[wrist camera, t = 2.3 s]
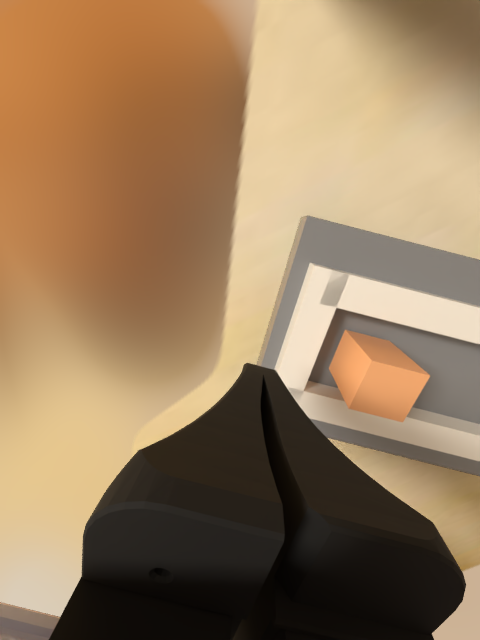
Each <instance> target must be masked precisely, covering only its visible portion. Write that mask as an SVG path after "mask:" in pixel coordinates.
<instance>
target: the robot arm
mask: <svg viewBox="0 0 480 640" xmlns="http://www.w3.org/2000/svg"><path fill="white" fill-rule="evenodd" d="M82 556H83V557H82V577H81V579H80V581H79V583H78V585H77V587H76V588H75V590H74V592H73V594H72V596H71V598H70V600H69V602H68V604H67V606H66V607H65V610H64V611H63V613H62V615H61V617H58V616H54V615H50V614H46V613H41V612H38V611H34V610H30V609H25V608H22V607H17V606H13V605H10V604H5V603H1V602H0V640H434V638H433V636H432V632H434V631H435V630H436V629H437V628H438V627H439V626H440V625H441V624H442V623H443V622H444V621H445V620H446V619H447V618H448V617H449V616H450V615H451V614H452V613H453V612H454V611H455V610H456V609H457V607H458V606H459V605H460V603H461V602H462V600H463V596H464V592H465V587H466V583H465V579H464V576H463V573H462V571H461V569H460V568H459V566H458V564H457V562H456V561H455V559H454V557H453V556H452V554H451V552H450V551H449V549H448V547H447V545H446V544H445V542H444V540H443V539H442V537H441V535H440V534H439V532H438V530H437V529H436V527H435V525H434V524H433V522H431V521H430V520H428V519H427V518H426V517H424V516H423V515H421V514H420V513H418V512H417V511H416V510H414V509H413V508H411V507H410V506H409V505H407V504H406V503H404V502H403V501H401V500H400V499H399V498H397V497H396V496H394V495H393V494H391V493H390V492H389V491H387V490H386V489H385V488H384V487H382V486H381V485H380V484H379V483H377V482H376V481H375V480H373V479H372V478H371V477H370V476H368V475H367V474H366V473H365V472H363V471H362V470H361V469H360V468H359V467H358V466H356V465H355V464H354V463H353V462H352V461H351V460H350V459H348V458H347V457H346V456H345V455H344V454H343V453H342V452H341V451H340V450H339V449H338V448H336V447H335V446H334V445H333V444H332V443H331V442H330V441H329V440H328V439H327V438H326V436H325V435H324V434H323V433H322V432H321V431H320V430H319V429H318V428H317V427H316V426H315V425H314V423H313V422H312V421H311V420H310V419H309V417H308V416H307V415H306V414H305V412H304V411H303V410H302V409H301V407H300V406H299V405H298V403H297V402H296V401H295V399H294V398H293V396H292V395H291V393H290V392H289V390H288V389H287V387H286V386H285V384H284V383H283V381H282V379H281V378H280V376H279V375H278V373H277V372H276V370H273V369H269V368H265V367H261V366H258V365H254V364H250V363H246V364H244V367H243V370H242V373H241V374H240V376H239V378H238V379H237V380H236V382H235V383H234V385H233V386H232V387H231V388H230V389H229V391H228V392H227V393H226V394H225V395H224V396H223V397H222V398H221V399H220V400H219V401H218V402H217V403H216V404H215V405H214V406H213V407H212V408H211V409H209V410H208V411H207V412H206V413H204V414H203V415H202V416H200V417H199V418H198V419H196V420H195V421H193V422H192V423H190V424H189V425H187V426H185V427H184V428H182V429H181V430H179V431H177V432H176V433H174V434H172V435H170V436H168V437H167V438H165V439H162V440H160V441H158V442H156V443H154V444H152V445H150V446H148V447H145V448H143V449H141V450H139V451H138V452H137V453H136V454H135V455H134V456H133V457H132V459H131V460H130V461H129V462H128V463H127V464H126V465H125V467H124V468H123V469H122V470H121V472H120V473H119V474H118V475H117V477H116V478H115V479H114V481H113V482H112V483H111V485H110V486H109V488H108V489H107V490H106V492H105V493H104V495H103V497H102V498H101V500H100V502H99V503H98V505H97V507H96V508H95V510H94V512H93V513H92V515H91V517H90V519H89V520H88V522H87V524H86V526H85V530H84V534H83V554H82Z"/></svg>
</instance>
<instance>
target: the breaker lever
mask: <svg viewBox="0 0 480 640" xmlns="http://www.w3.org/2000/svg"><path fill="white" fill-rule="evenodd" d="M329 370H330V372H331V374H332V376H333V378H334V380H335V382H336V384H337V386H338V388H339V390H340V392H341V394H342V396H343V398H344V400H345V402H346V404H347V406H348V408H349V409H352V410H356V411H360V412H364V413H368V414H372V415H375V416H379V417H383V418H387V419H391V420H395V421H399V422H403V421H404V420H405V418H406V416H407V415H408V413H409V411H410V410H411V408H412V406H413V404H414V403H415V401H416V399H417V398H418V396H419V394H420V393H421V391H422V389H423V388H424V386H425V384H426V383H427V381H428V379H429V377H430V375H429V374H428V373H427V372H426V371H424V370H423V369H422V368H421V367H420V366H419V365H417V364H416V363H415V362H414V361H413V360H412V359H410V358H409V357H408V356H407V355H406V354H404V353H403V352H402V351H401V350H400V349H399V348H397V347H396V346H395V345H394V344H393V343H391V342H390V341H388V340H384V339H380V338H376V337H373V336H369V335H365V334H361V333H357V332H353V331H349V330H345V331H344V333H343V336H342V338H341V340H340V343H339V345H338V347H337V350H336V352H335V355H334V357H333V359H332V362H331V364H330V366H329Z"/></svg>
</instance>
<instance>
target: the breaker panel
mask: <svg viewBox="0 0 480 640" xmlns="http://www.w3.org/2000/svg"><path fill="white" fill-rule="evenodd" d="M345 330H349V331H353V332H357V333H361V334H365V335H369V336H373V337H376V338H380V339H384V340H388V341H390V342H391V343H393V344H394V345H395V346H396V347H397V348H399V349H400V350H401V351H402V352H403V353H404V354H406V355H407V356H408V357H409V358H410V359H412V360H413V361H414V362H415V363H416V364H417V365H419V366H420V367H421V368H422V369H423V370H424V371H426V372H427V373H428V374H429V375H430V377H429V379H428V381H427V383H426V384H425V386H424V388H423V389H422V391H421V393H420V394H419V396H418V398H417V399H416V401H415V403H414V404H413V406H412V408H411V410H410V411H409V413H408V415H407V416H406V418H405V420H404V421H403V422H399V421H395V420H391V419H387V418H383V417H379V416H375V415H372V414H368V413H364V412H360V411H356V410H352V409H349V408H348V406H347V404H346V402H345V400H344V398H343V396H342V394H341V392H340V390H339V388H338V386H337V384H336V382H335V380H334V378H333V376H332V374H331V372H330V370H329V366H330V364H331V362H332V359H333V357H334V355H335V352H336V350H337V347H338V345H339V343H340V340H341V338H342V336H343V333H344V331H345ZM257 365H258V366H261V367H265V368H269V369H273V370H276V372H277V373H278V375H279V376H280V378H281V379H282V381H283V383H284V384H285V386H286V387H287V389H288V390H289V392H290V393H291V395H292V396H293V398H294V399H295V401H296V402H297V403H298V405H299V406H300V407H301V409H302V410H303V411H304V412H305V414H306V415H307V416H308V417H309V419H310V420H311V421H312V422H313V423H314V425H315V426H316V427H317V428H318V429H319V430H320V431H321V432H322V433H323V434H324V435H325V436H326V437H327V438H331V439H335V440H339V441H343V442H347V443H350V444H354V445H358V446H362V447H366V448H370V449H374V450H378V451H382V452H386V453H390V454H394V455H398V456H402V457H406V458H410V459H414V460H418V461H421V462H425V463H429V464H433V465H437V466H441V467H445V468H449V469H453V470H457V471H461V472H465V473H469V474H473V475H477V476H480V260H478V259H474V258H470V257H466V256H462V255H459V254H455V253H451V252H447V251H443V250H439V249H435V248H431V247H428V246H424V245H420V244H416V243H412V242H408V241H404V240H400V239H396V238H393V237H389V236H385V235H381V234H377V233H373V232H369V231H365V230H361V229H358V228H354V227H350V226H346V225H342V224H338V223H334V222H330V221H327V220H323V219H319V218H315V217H311V216H305V217H302V218H301V220H300V223H299V226H298V229H297V233H296V236H295V239H294V243H293V246H292V249H291V253H290V256H289V259H288V263H287V266H286V269H285V273H284V276H283V279H282V282H281V286H280V289H279V292H278V296H277V299H276V302H275V306H274V309H273V312H272V316H271V319H270V322H269V325H268V329H267V332H266V335H265V339H264V342H263V345H262V349H261V352H260V355H259V359H258V362H257Z"/></svg>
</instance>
